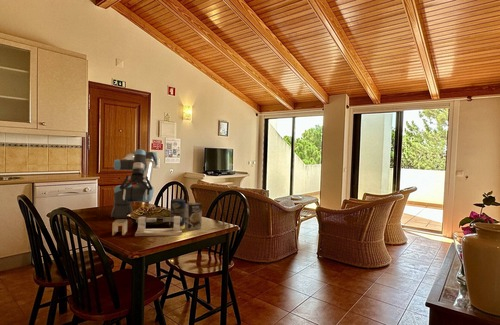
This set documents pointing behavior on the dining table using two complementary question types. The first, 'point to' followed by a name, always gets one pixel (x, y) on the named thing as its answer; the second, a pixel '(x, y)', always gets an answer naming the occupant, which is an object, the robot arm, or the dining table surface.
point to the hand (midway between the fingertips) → (134, 199)
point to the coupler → (119, 223)
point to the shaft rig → (157, 232)
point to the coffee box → (193, 216)
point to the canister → (177, 209)
